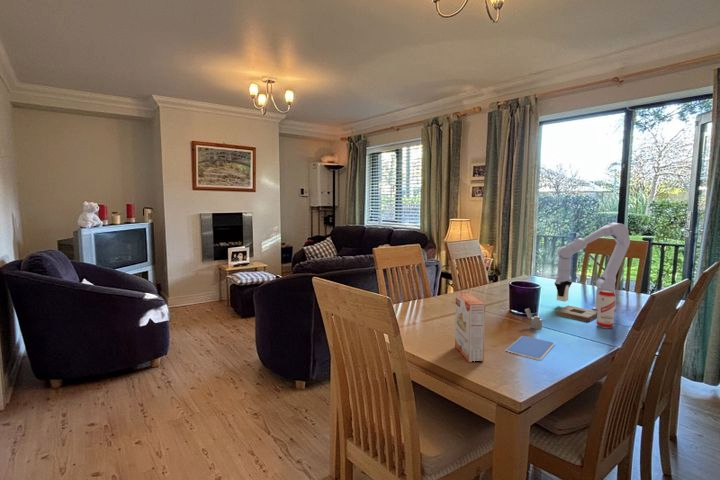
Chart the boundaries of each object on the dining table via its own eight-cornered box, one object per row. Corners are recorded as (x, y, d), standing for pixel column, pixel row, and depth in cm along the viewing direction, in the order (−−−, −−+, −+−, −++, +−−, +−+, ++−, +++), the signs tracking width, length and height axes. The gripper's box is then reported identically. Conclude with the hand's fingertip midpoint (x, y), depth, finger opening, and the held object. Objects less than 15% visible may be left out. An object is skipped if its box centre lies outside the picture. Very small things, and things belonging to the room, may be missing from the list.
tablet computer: (540, 362, 130) (540, 359, 130) (504, 352, 139) (504, 349, 139) (555, 346, 145) (555, 342, 145) (521, 338, 153) (521, 335, 153)
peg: (559, 298, 198) (560, 283, 197) (568, 300, 195) (568, 285, 194) (556, 300, 195) (557, 285, 194) (564, 301, 192) (565, 286, 191)
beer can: (615, 329, 161) (618, 293, 159) (599, 328, 162) (602, 292, 161) (609, 324, 167) (611, 289, 166) (593, 323, 169) (596, 288, 167)
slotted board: (567, 309, 190) (567, 305, 190) (598, 315, 180) (599, 311, 180) (555, 314, 182) (556, 310, 181) (587, 321, 171) (588, 317, 171)
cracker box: (453, 347, 143) (455, 293, 140) (469, 346, 143) (470, 293, 141) (467, 363, 129) (468, 304, 127) (484, 362, 129) (486, 303, 127)
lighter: (542, 329, 162) (542, 311, 161) (540, 330, 161) (541, 311, 160) (525, 325, 167) (526, 307, 166) (523, 325, 166) (524, 308, 165)
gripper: (561, 267, 201) (560, 291, 202) (549, 270, 192) (548, 296, 193) (575, 268, 196) (574, 294, 197) (564, 272, 186) (563, 299, 188)
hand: (562, 295), depth 195 cm, fingers closed on peg, 4 cm apart
